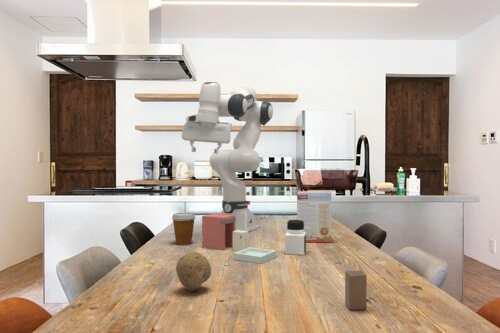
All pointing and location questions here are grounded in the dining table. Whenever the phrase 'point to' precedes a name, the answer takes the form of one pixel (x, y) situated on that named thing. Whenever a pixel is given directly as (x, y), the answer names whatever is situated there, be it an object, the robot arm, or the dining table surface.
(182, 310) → the dining table surface
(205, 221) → the block
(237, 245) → the tall beige block
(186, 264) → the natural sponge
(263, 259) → the dish
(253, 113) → the robot arm
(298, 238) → the medicine bottle
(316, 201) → the cracker box
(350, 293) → the wooden block
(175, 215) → the disposable coffee cup
